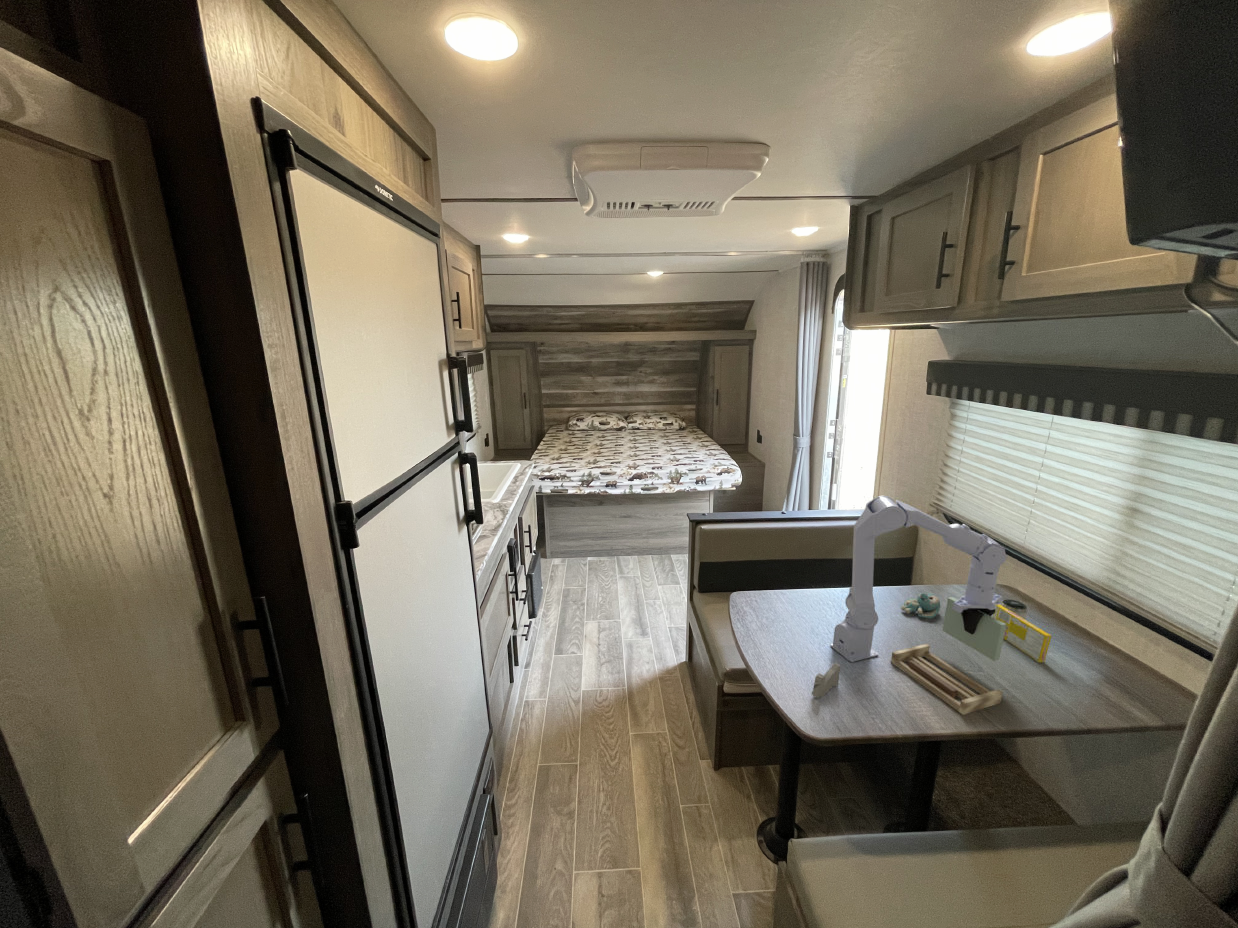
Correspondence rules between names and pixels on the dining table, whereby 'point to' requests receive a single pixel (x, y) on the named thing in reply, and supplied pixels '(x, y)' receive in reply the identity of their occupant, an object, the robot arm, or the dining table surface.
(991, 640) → the large sage green box
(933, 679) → the offcut stack
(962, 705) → the offcut rack
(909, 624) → the dining table surface
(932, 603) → the stuffed animal
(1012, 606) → the dark lidded jar
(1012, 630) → the candy box
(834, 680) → the beige angular flat piece
